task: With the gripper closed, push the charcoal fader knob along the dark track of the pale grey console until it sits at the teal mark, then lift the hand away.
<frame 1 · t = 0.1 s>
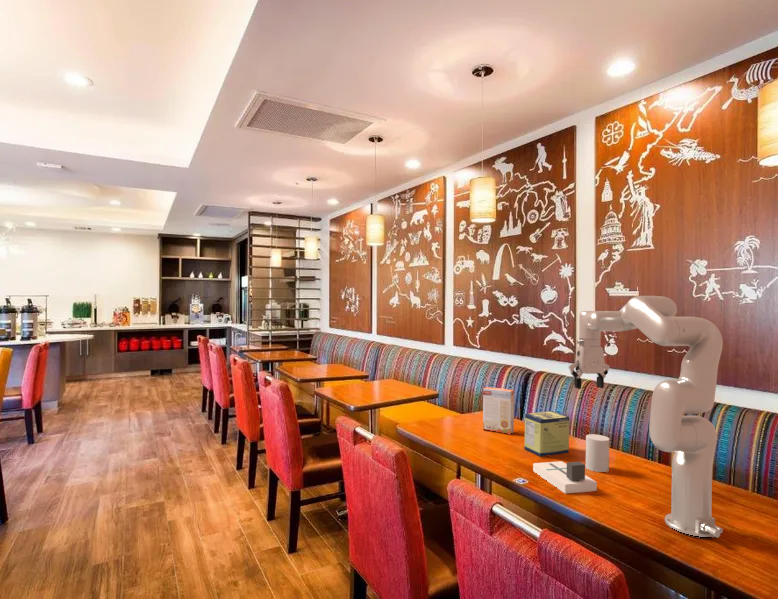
hand: (589, 387, 172), 31 cm above the table, tool pointing down, fingers open, 9 cm apart
fader console: (563, 480, 161), on the table
fader knob: (575, 471, 154), point 6 cm above the table, slide at 0.0 cm
cracker box: (498, 431, 221), on the table
white cylinder: (597, 469, 173), on the table
protein box: (546, 451, 193), on the table
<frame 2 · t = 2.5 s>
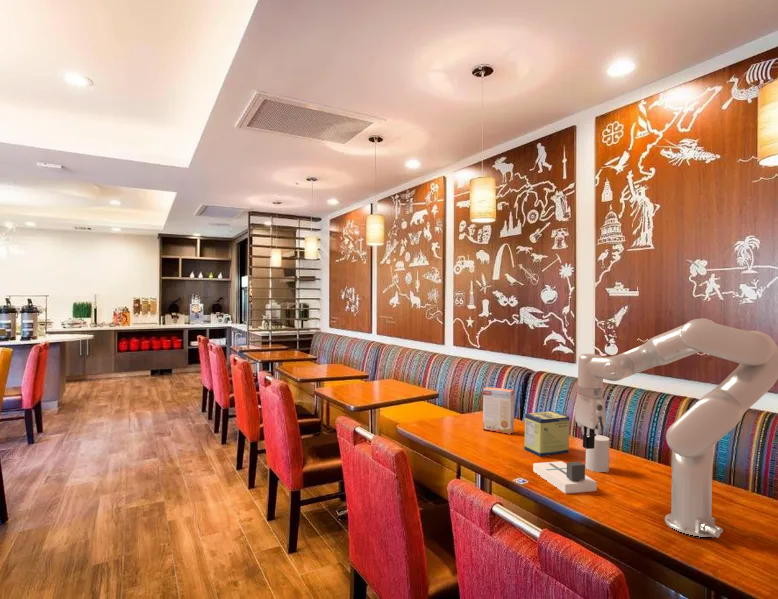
hand: (588, 447, 148), 16 cm above the table, tool pointing down, fingers closed
nothing on the table moved.
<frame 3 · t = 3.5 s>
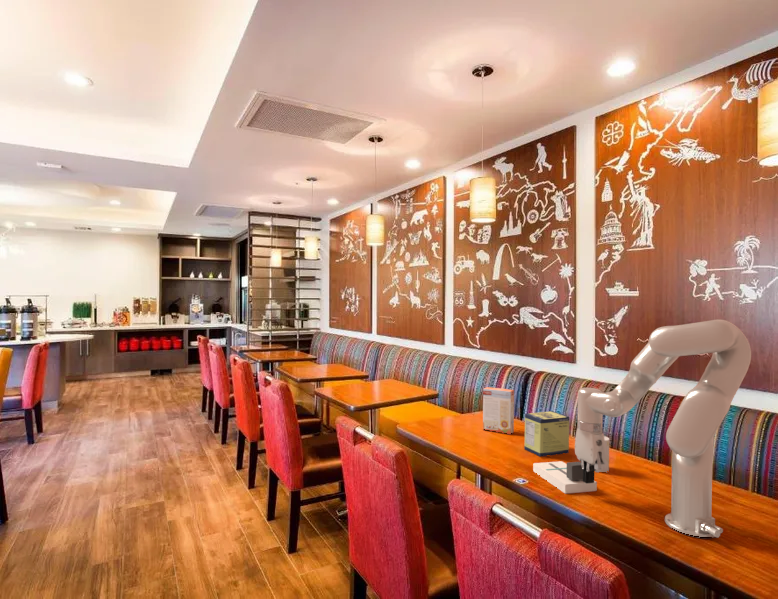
hand: (588, 482, 147), 5 cm above the table, tool pointing down, fingers closed
nothing on the table moved.
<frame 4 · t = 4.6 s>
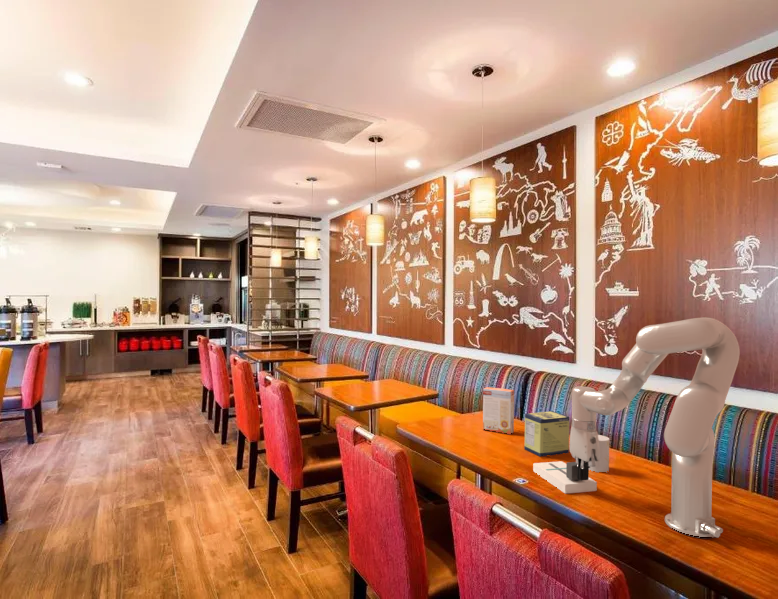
hand: (582, 479, 150), 5 cm above the table, tool pointing down, fingers closed
fader knob: (575, 470, 154), point 6 cm above the table, slide at 0.1 cm, touching gripper
everything else where it was.
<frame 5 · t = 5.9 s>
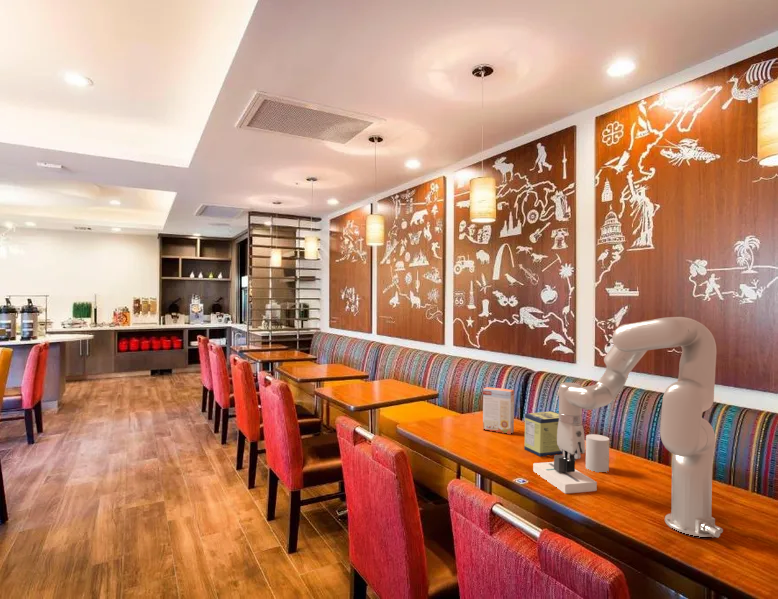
hand: (569, 470, 157), 5 cm above the table, tool pointing down, fingers closed
fader knob: (562, 463, 161), point 6 cm above the table, slide at 7.5 cm, touching gripper
everything else where it was.
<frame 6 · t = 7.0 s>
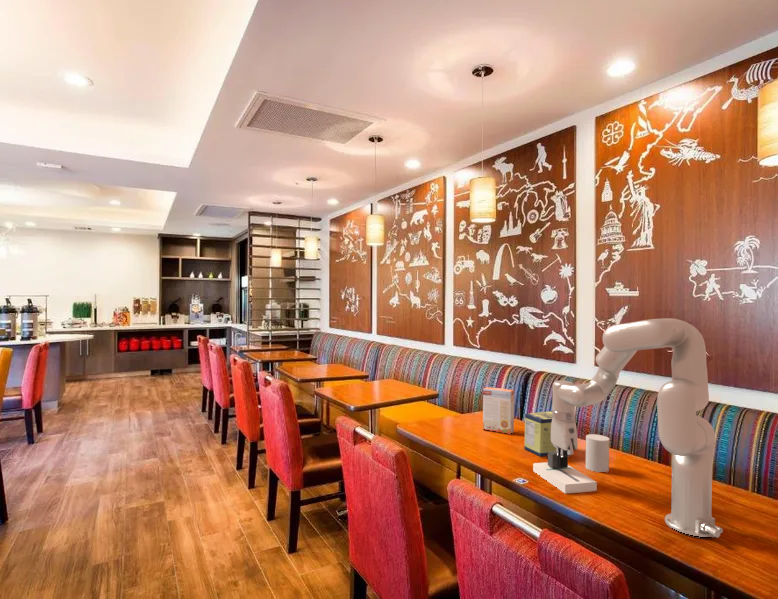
hand: (562, 466, 161), 5 cm above the table, tool pointing down, fingers closed
fader knob: (556, 459, 165), point 6 cm above the table, slide at 11.5 cm, touching gripper
everything else where it was.
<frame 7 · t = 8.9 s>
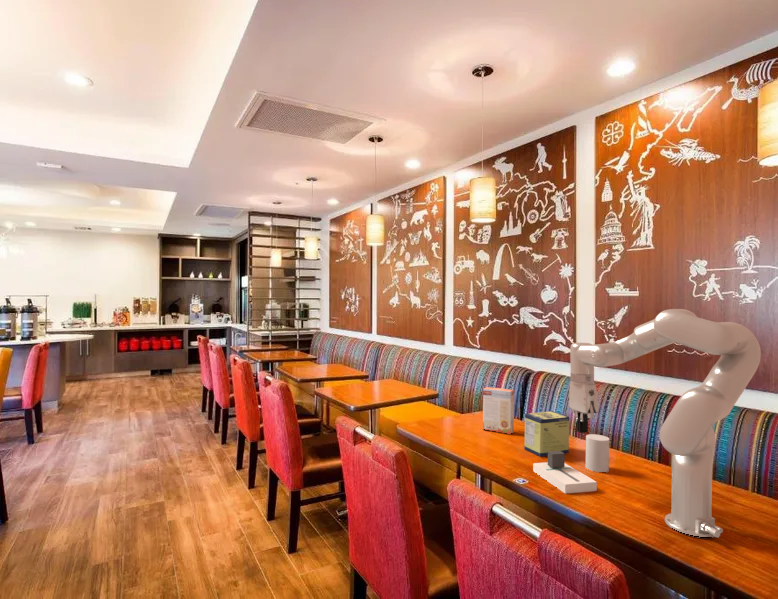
hand: (582, 432, 155), 19 cm above the table, tool pointing down, fingers closed
fader knob: (556, 459, 165), point 6 cm above the table, slide at 11.6 cm
everything else where it was.
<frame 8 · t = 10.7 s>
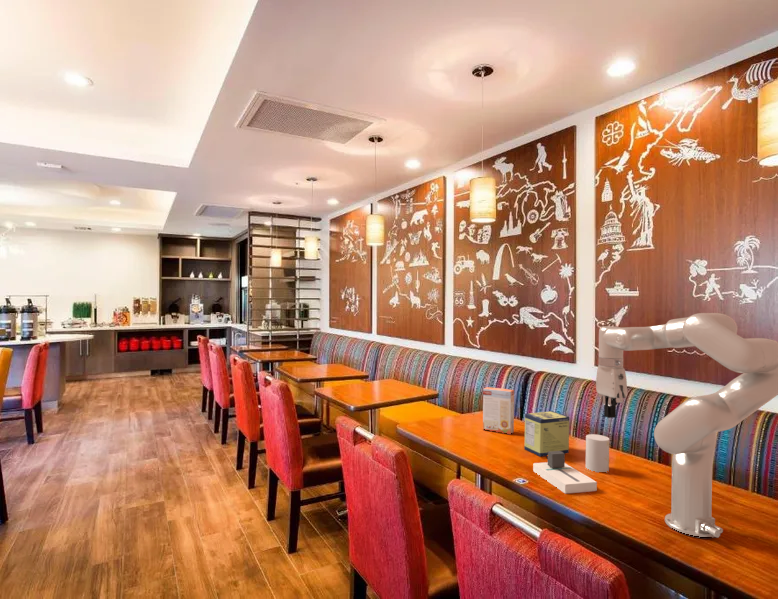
hand: (609, 416, 152), 25 cm above the table, tool pointing down, fingers closed
nothing on the table moved.
at the end: fader knob slide at 11.6 cm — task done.
